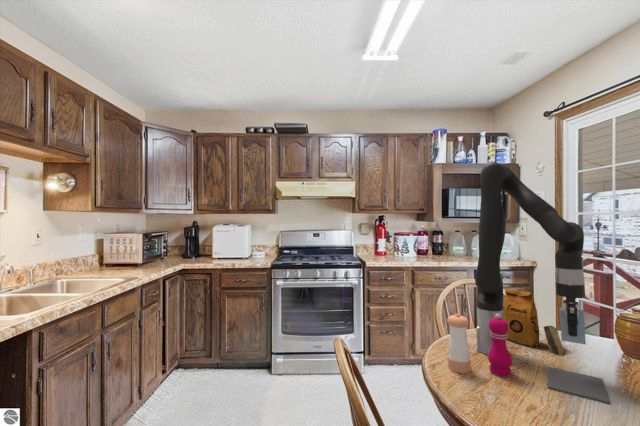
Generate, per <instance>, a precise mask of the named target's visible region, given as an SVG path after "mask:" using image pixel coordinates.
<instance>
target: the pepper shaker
mask: <svg viewBox="0 0 640 426" xmlns="http://www.w3.org/2000/svg"><path fill="white" fill-rule="evenodd" d="M446 321H447V322H446V323H447V324H448V326H449V341H448V357H447V365H448V368H449V370H451V371H453V372H455V373H460V374H469V373H470V372H471V370H472V368H471V359H470V348H469V342H468V337H467V336H468V335H467V334H468V332H467V331H468V329H467V327H468V326H469V324H470V323H469V322H470V321H469V320H468V319H467V317H465V316H463V315H460V313H455V314H451V315H449V316H448V318H447V320H446Z"/></svg>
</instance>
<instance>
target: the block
mask: <svg viewBox="0 0 640 426" xmlns="http://www.w3.org/2000/svg"><path fill="white" fill-rule="evenodd" d="M578 313H579V317H578V318H577V322H578V325H577V337H575V336H570V335H569V334H568V323H567V316H565V308H564V307H561V306H560V307H559V318H560V321H559V322H560V336H561V338H560V339H561V341H562V342H570V343H575V344H581V345H586V343H587V342H586V340H587V339H586V326H585V325H586V323H585V312H584V310H583V309H578ZM569 320H575V318H569Z"/></svg>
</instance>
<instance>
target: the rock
mask: <svg viewBox="0 0 640 426" xmlns="http://www.w3.org/2000/svg"><path fill="white" fill-rule="evenodd" d="M543 331H544V334H545V338H546V340H547V347H548V351H549V352H550V353H551V354H554V355H555V356H559V357H562V356H563V354H564V353H565V352H564V348H563V345H562V342H561V341H562V340H561V338H560V335H559V331H558V328H556V327H555V326H553V325H545V326H543Z"/></svg>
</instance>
